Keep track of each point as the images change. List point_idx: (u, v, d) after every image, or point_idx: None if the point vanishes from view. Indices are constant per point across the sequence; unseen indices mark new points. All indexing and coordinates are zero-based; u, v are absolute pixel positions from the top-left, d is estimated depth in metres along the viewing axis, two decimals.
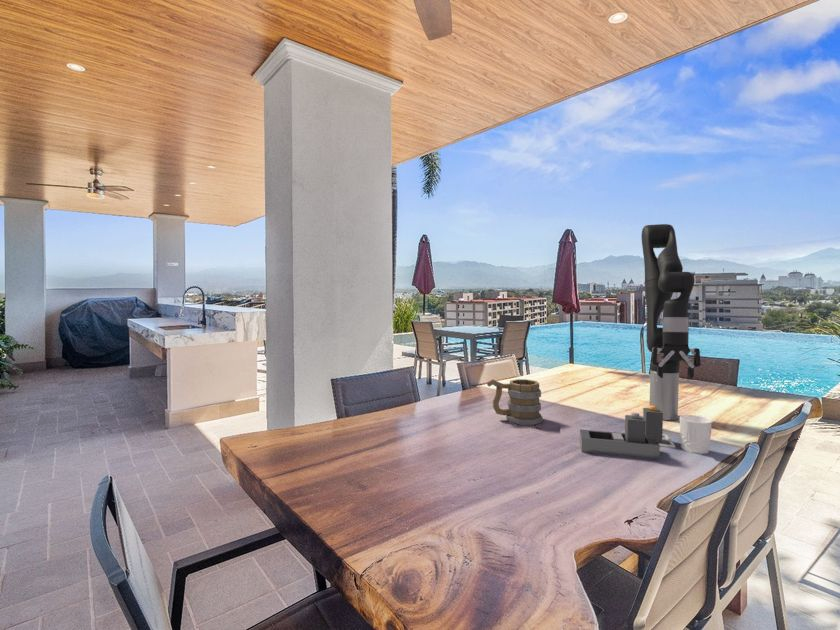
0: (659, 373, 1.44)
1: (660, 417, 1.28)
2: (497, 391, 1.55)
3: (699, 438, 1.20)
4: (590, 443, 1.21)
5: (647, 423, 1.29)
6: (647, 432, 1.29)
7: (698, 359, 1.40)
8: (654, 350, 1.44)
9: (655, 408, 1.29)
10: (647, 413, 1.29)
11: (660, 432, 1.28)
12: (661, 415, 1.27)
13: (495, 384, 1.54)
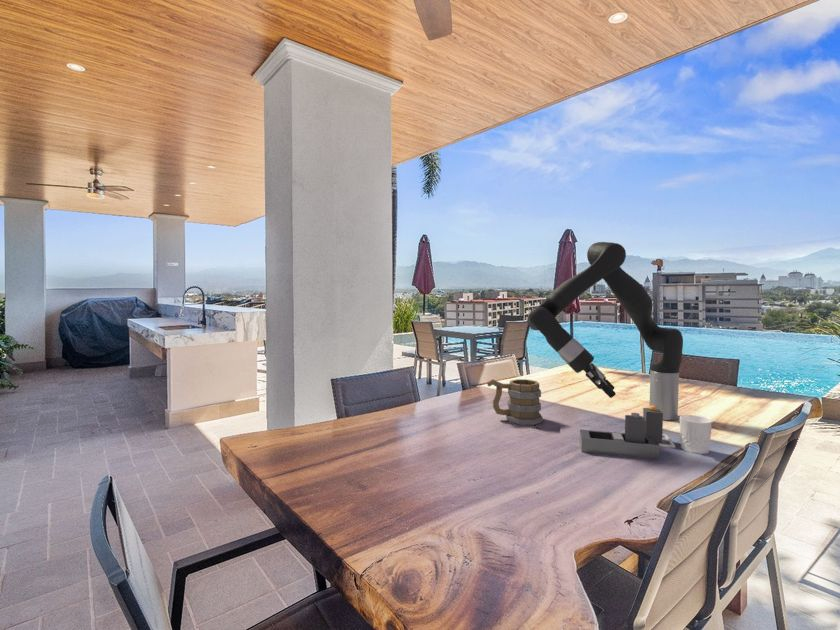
0: None
1: (660, 417, 1.28)
2: (497, 391, 1.55)
3: (699, 438, 1.20)
4: (590, 443, 1.21)
5: (647, 423, 1.29)
6: (647, 432, 1.29)
7: (594, 383, 1.30)
8: None
9: (655, 408, 1.29)
10: (647, 413, 1.29)
11: (660, 432, 1.28)
12: (661, 415, 1.27)
13: (495, 384, 1.54)
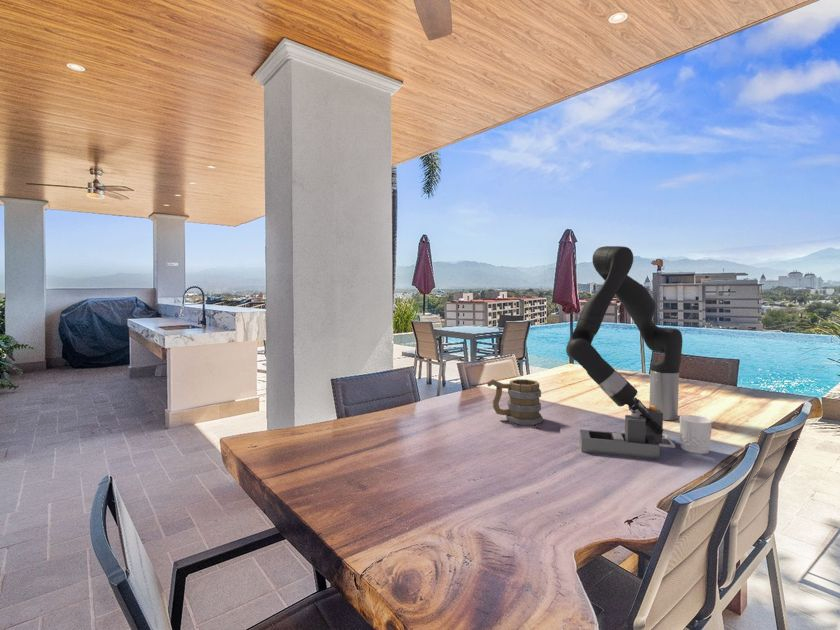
0: None
1: (660, 417, 1.28)
2: (497, 391, 1.55)
3: (699, 438, 1.20)
4: (590, 443, 1.21)
5: None
6: (647, 432, 1.29)
7: None
8: None
9: (655, 408, 1.29)
10: None
11: None
12: (661, 415, 1.27)
13: (495, 384, 1.54)
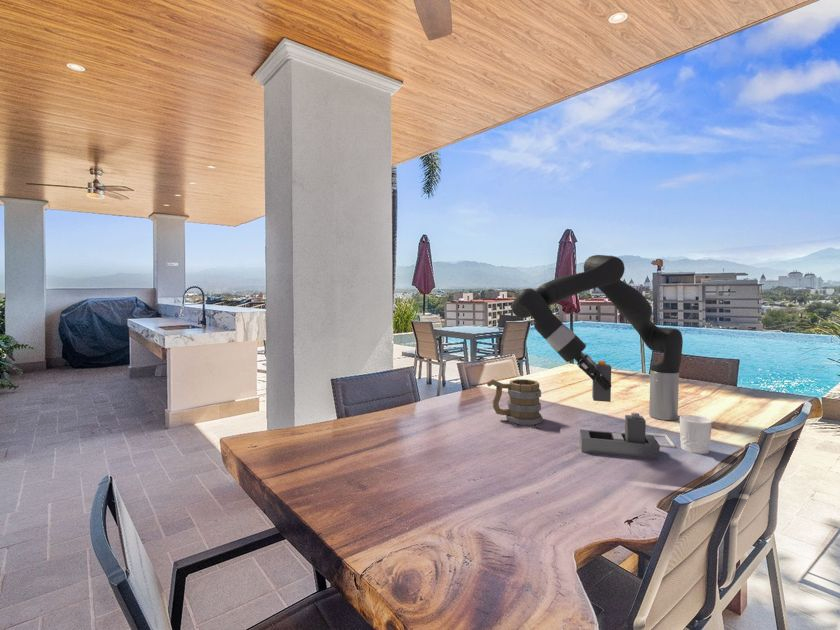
0: None
1: (608, 371, 1.20)
2: (497, 391, 1.55)
3: (699, 438, 1.20)
4: (590, 443, 1.21)
5: None
6: (595, 388, 1.21)
7: (588, 375, 1.19)
8: None
9: (604, 363, 1.22)
10: None
11: None
12: (609, 369, 1.20)
13: (495, 384, 1.54)
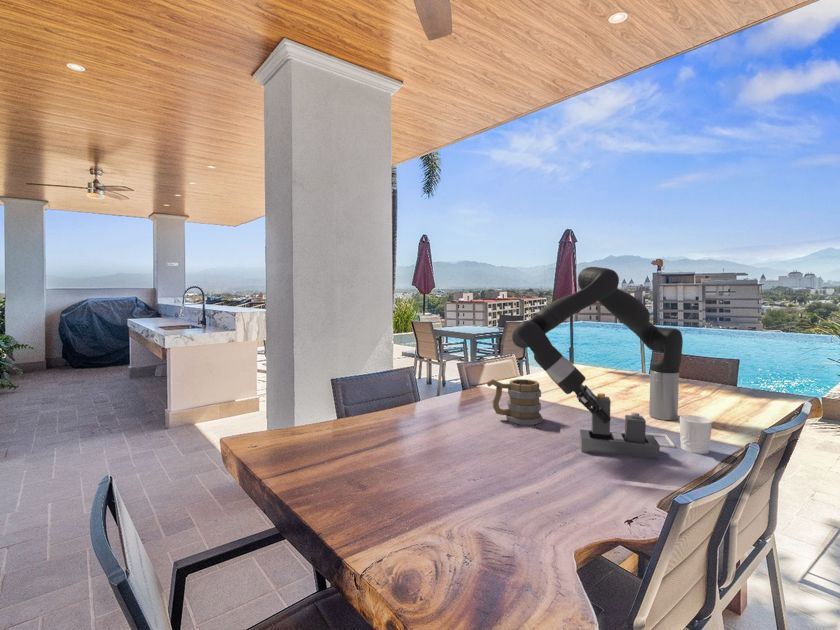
0: None
1: (608, 405, 1.21)
2: (497, 391, 1.55)
3: (699, 438, 1.20)
4: (590, 443, 1.21)
5: None
6: (594, 421, 1.22)
7: (587, 408, 1.20)
8: None
9: (603, 396, 1.22)
10: None
11: None
12: (608, 403, 1.20)
13: (495, 384, 1.54)
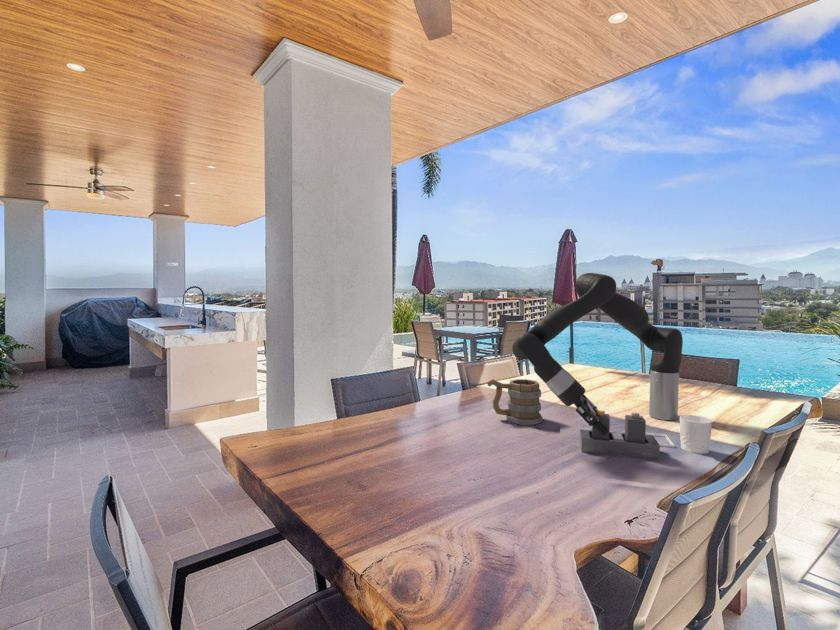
0: None
1: (607, 422, 1.21)
2: (497, 391, 1.55)
3: (699, 438, 1.20)
4: (590, 443, 1.21)
5: (594, 429, 1.22)
6: None
7: (584, 419, 1.19)
8: None
9: (602, 413, 1.22)
10: None
11: (606, 438, 1.21)
12: (608, 421, 1.21)
13: (495, 384, 1.54)
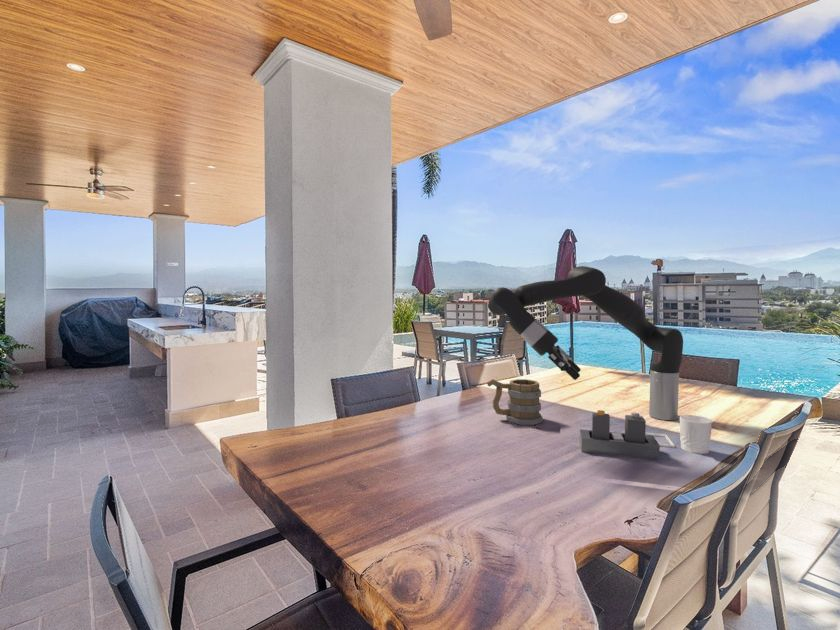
0: None
1: (607, 422, 1.21)
2: (497, 391, 1.55)
3: (699, 438, 1.20)
4: (590, 443, 1.21)
5: (594, 429, 1.22)
6: None
7: (557, 365, 1.26)
8: None
9: (602, 413, 1.22)
10: (593, 418, 1.22)
11: (606, 438, 1.21)
12: (608, 421, 1.21)
13: (495, 384, 1.55)
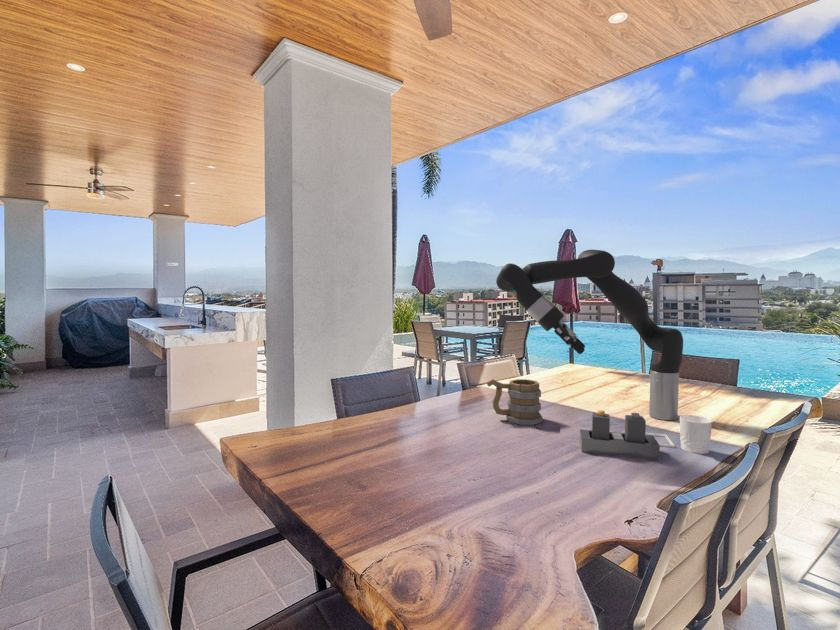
0: None
1: (607, 422, 1.21)
2: (497, 391, 1.55)
3: (699, 438, 1.20)
4: (590, 443, 1.21)
5: (594, 429, 1.22)
6: None
7: (562, 339, 1.28)
8: None
9: (602, 413, 1.22)
10: (593, 418, 1.22)
11: (606, 438, 1.21)
12: (608, 421, 1.21)
13: (495, 384, 1.55)
